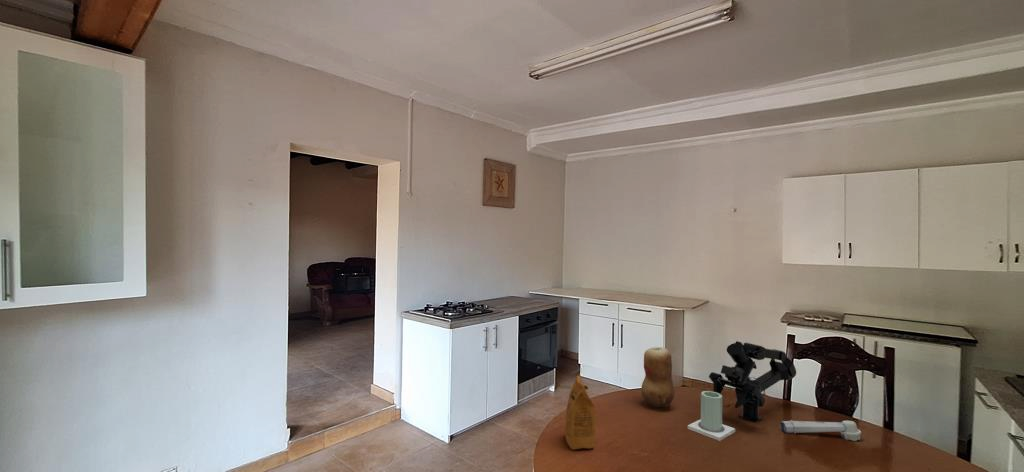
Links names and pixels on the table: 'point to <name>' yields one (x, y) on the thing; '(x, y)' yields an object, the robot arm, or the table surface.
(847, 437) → the toothbrush head
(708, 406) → the sleeve
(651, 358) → the butternut squash
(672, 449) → the table surface
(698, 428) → the post board
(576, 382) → the coffee package
